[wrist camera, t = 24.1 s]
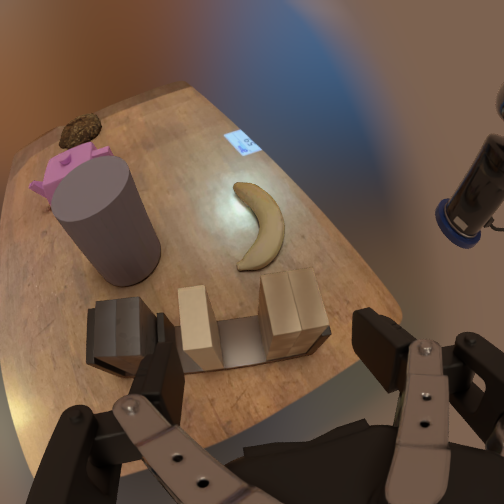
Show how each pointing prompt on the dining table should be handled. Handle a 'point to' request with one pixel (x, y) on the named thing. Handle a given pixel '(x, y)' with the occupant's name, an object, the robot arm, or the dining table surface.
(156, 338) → the book rack
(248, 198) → the fruit
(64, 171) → the teapot
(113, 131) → the dining table surface
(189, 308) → the cream book
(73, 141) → the bread roll
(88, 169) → the grey upright cylinder
